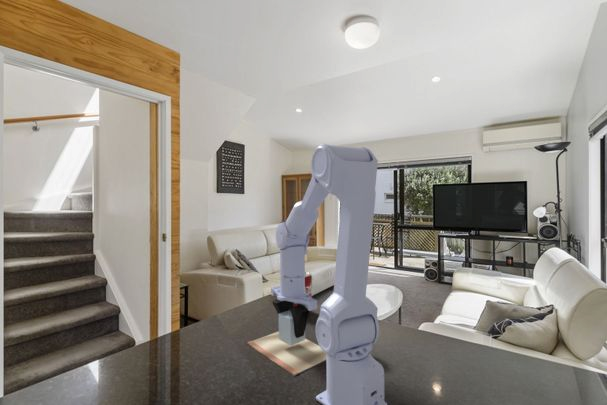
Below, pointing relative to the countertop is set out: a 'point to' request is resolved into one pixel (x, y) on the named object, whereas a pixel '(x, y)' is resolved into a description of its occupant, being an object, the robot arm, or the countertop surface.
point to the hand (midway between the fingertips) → (292, 332)
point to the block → (288, 329)
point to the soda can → (307, 285)
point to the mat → (289, 353)
